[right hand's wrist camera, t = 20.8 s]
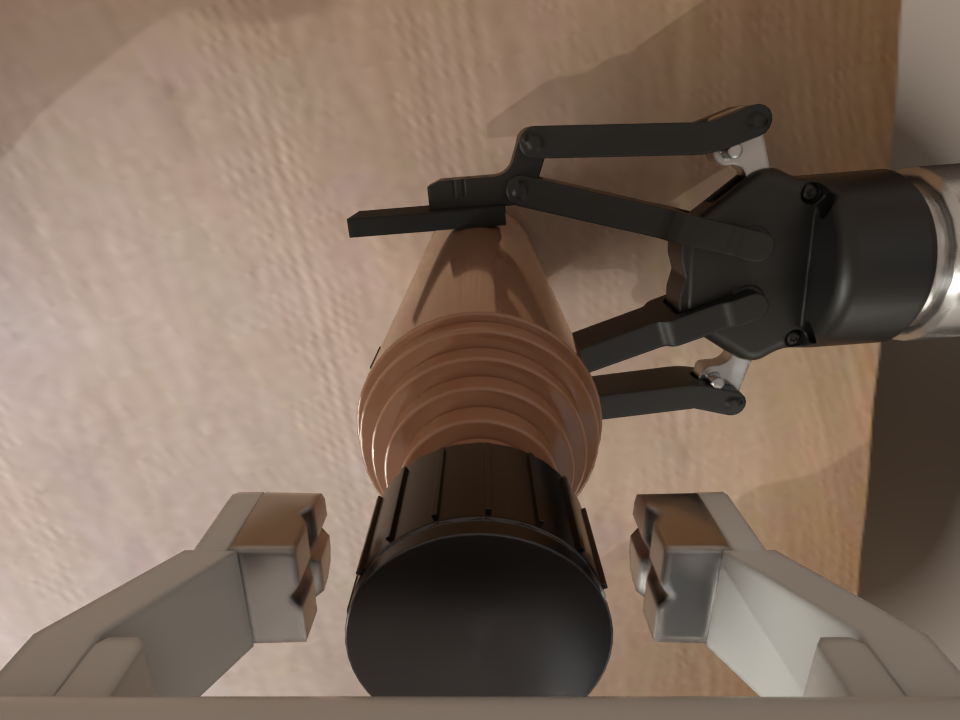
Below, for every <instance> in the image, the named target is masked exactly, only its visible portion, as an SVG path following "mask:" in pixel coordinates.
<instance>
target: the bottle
mask: <svg viewBox="0 0 960 720" xmlns="http://www.w3.org/2000/svg"><path fill="white" fill-rule="evenodd" d="M601 431H602V409H601V404H600V398H599V395H598V392H597V389H596V386H595V383H594V380H593V378H592V376H591V374H590V372H589V369H588V367H587V365H586V363H585V361H584V358H583V356H582V354H581V352H580V350H579V347H578V345H577V343H576V341H575V339H574V337H573V334H572V332H571V330H570V328H569V326H568V323H567V321H566V319H565V317H564V315H563V312H562V310H561V308H560V306H559V304H558V301H557V299H556V297H555V295H554V293H553V290H552V288H551V286H550V284H549V282H548V279H547V277H546V275H545V273H544V271H543V269H542V266H541V264H540V262H539V260H538V258H537V255H536V253H535V251H534V249H533V247H532V244H531V242H530V240H529V238H528V236H527V234H526V232H525V231H524V229H523V228H522V226H521V225H520V224H519V223H518V222H517V221H516V220H515V219H514V218H513V217H511V216H510V215H508V214H507V213H506V225H502V226H489V227H477V228H464V229H452V230H439V231H435V232H434V234H433V236H432V238H431V240H430V242H429V244H428V246H427V249H426V251H425V253H424V255H423V257H422V259H421V261H420V264H419V266H418V268H417V270H416V272H415V274H414V277H413V279H412V281H411V283H410V285H409V287H408V290H407V292H406V294H405V296H404V298H403V300H402V303H401V305H400V307H399V309H398V311H397V313H396V316H395V318H394V320H393V322H392V324H391V326H390V329H389V331H388V333H387V335H386V337H385V339H384V342H383V344H382V346H381V348H380V350H379V352H378V355H377V357H376V359H375V361H374V363H373V365H372V368H371V370H370V372H369V374H368V376H367V379H366V381H365V383H364V386H363V388H362V391H361V395H360V399H359V403H358V412H357V432H358V438H359V443H360V448H361V453H362V458H363V461H364V464H365V467H366V470H367V473H368V475H369V477H370V479H371V481H372V482H373V484H374V486H375V488H376V489H377V491H378V492H379V493H380V495H381V496H382V495H383V493H384V491H385V490H386V489H387V487H388V486H389V484H390V483H391V482H392V481H393V479H394V478H395V477H396V476H397V475H398V474H399V473H400V472H401V469H402V468H403V467H404V466H406V467H408V466H409V465H410V464H411V463H413V462H414V461H415V460H418V459H419V458H420V457H423V456H425V455H427V454H429V453H432V452H434V451H436V450H439V449H440V448H442V447H447V446H448V447H449V446H450V445H459V444H466V443H477V442H482V443H483V442H490V443H492V444H499V445H504V446H510V447H515V448H516V449H517V448H518V449H521V450H523V451H525V452H527V453H529V452H530V453H533V454H534V456H535V457H537V458H539V459H541V460H543V461H545V462H546V463H548V464H549V465H550V466H551V467H552V468H553V469H555V470H556V471H557V472H558V473H559V474H560V475H561V476H562V477H563V476H566V477H567V479H568V483H569V485H570V487H571V488H572V489H573V491H574V492H575V494H576V496H578V495H579V494H580V492H581V491H582V489H583V488H584V486H585V484H586V483H587V481H588V479H589V477H590V475H591V472H592V470H593V468H594V465H595V461H596V458H597V454H598V447H599V443H600V440H601Z"/></svg>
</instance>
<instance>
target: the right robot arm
mask: <svg viewBox="0 0 960 720" xmlns="http://www.w3.org/2000/svg"><path fill="white" fill-rule="evenodd" d="M326 516H327V511H326V504H325V498H324V497H323V495H322V494H318V493H269V492H267V493H263V492H238V493H236V494H233V495H232V496H231V497H230V499H229V500H228V501H227V503H226V504H225V506H224V507H223V509H222V510H221V512H220V513H219V514H218V516H217V517H216V519H215V520H214V522H213V523H212V525H211V526H210V527H209V529H208V530H207V532H206V533H205V535H204V536H203V538H202V539H201V540H200V542H199V543H198V545H197V546H196V548H195V549H194V550H187V551H183V552H181V553H179V554H177V555H176V556H174V557H172V558H170V559H168V560H167V561H165V562H163V563H161V564H159V565H158V566H156V567H154V568H152V569H150V570H149V571H147V572H145V573H143V574H141V575H140V576H138V577H136V578H134V579H132V580H131V581H129V582H127V583H125V584H123V585H122V586H120V587H118V588H116V589H114V590H113V591H111V592H109V593H107V594H105V595H104V596H102V597H100V598H98V599H96V600H95V601H93V602H91V603H89V604H87V605H86V606H84V607H82V608H80V609H78V610H77V611H75V612H73V613H71V614H69V615H68V616H66V617H64V618H62V619H60V620H59V621H57V622H55V623H53V624H51V625H50V626H48V627H46V628H44V629H42V630H41V631H39V632H37V633H35V634H33V635H32V637H31V638H30V639H29V640H28V641H27V642H26V643H25V644H24V645H23V647H22V648H21V649H20V650H19V651H18V652H17V653H16V654H15V655H14V657H13V658H12V659H11V660H10V661H9V662H8V663H7V664H6V666H5V667H4V668H3V669H2V670H1V671H0V720H960V671H959V670H958V669H957V668H956V667H955V665H954V664H953V663H952V662H951V661H950V660H949V659H948V658H947V656H946V655H945V654H944V653H943V652H942V651H941V650H940V649H939V647H938V646H937V645H936V644H935V643H934V642H933V641H932V640H931V638H930V637H929V636H928V635H926V634H924V633H923V632H921V631H919V630H917V629H915V628H914V627H912V626H910V625H908V624H906V623H905V622H903V621H901V620H899V619H897V618H896V617H894V616H892V615H890V614H888V613H887V612H885V611H883V610H881V609H879V608H878V607H876V606H874V605H872V604H870V603H869V602H867V601H865V600H863V599H861V598H860V597H858V596H856V595H854V594H853V593H851V592H849V591H847V590H845V589H844V588H842V587H840V586H838V585H836V584H835V583H833V582H831V581H829V580H827V579H826V578H824V577H822V576H820V575H818V574H817V573H815V572H813V571H811V570H809V569H808V568H806V567H804V566H802V565H800V564H799V563H797V562H795V561H793V560H791V559H790V558H788V557H786V556H784V555H782V554H781V553H779V552H777V551H774V550H766V549H765V548H764V546H763V545H762V544H761V542H760V541H759V539H758V538H757V536H756V535H755V534H754V532H753V531H752V529H751V528H750V526H749V525H748V524H747V522H746V521H745V519H744V518H743V516H742V515H741V513H740V512H739V511H738V509H737V508H736V506H735V505H734V503H733V502H732V501H731V499H730V498H729V496H728V495H727V494H725V493H723V492H705V493H684V494H637V496H636V499H635V502H634V510H633V516H634V518H635V521H636V524H637V526H638V528H637V529H636V530H635V531H634V533H633V534H632V535H631V537H630V549H629V555H630V569H631V574H632V579H633V582H634V585H635V589H636V591H637V592H639V593H640V594H641V595H643V596H644V605H643V612H644V615H645V618H646V621H647V623H648V626H649V629H650V632H651V635H652V638H653V641H654V642H683V643H707V645H706V646H707V647H708V648H709V649H710V650H712V651H713V652H714V653H715V654H716V655H717V656H718V657H719V658H720V659H721V660H722V661H723V662H724V663H725V664H726V665H727V666H728V667H730V668H731V669H732V670H733V671H734V672H735V673H736V674H737V675H738V676H739V677H740V678H741V679H742V680H743V681H744V682H745V683H746V684H748V685H749V686H750V687H751V688H752V689H753V690H754V691H755V692H756V693H757V694H758V695H759V696H760V697H407V696H370V697H200V696H201V695H202V694H203V693H204V692H205V691H206V690H207V689H208V688H209V687H211V686H212V685H213V684H214V683H215V682H216V681H217V680H218V679H219V678H220V677H221V676H222V675H223V674H224V673H225V672H226V671H228V670H229V669H230V668H231V667H232V666H233V665H234V664H235V663H236V662H237V661H238V660H239V659H240V658H241V657H242V656H243V655H244V654H246V653H247V652H248V651H249V650H250V649H251V648H252V647H253V643H276V642H306V641H307V638H308V635H309V632H310V629H311V626H312V623H313V621H314V618H315V615H316V612H317V605H316V596H317V595H319V594H320V593H321V592H322V591H324V588H325V585H326V582H327V579H328V574H329V567H330V550H331V547H330V537H329V535H328V534H327V533H326V532H325V530H324V529H323V528H322V526H323V523H324V521H325V518H326Z"/></svg>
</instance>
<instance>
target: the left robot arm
mask: <svg viewBox="0 0 960 720" xmlns="http://www.w3.org/2000/svg"><path fill="white" fill-rule="evenodd" d="M771 122H772V114H771V111H770V109H769V108H768V107H766V106H765V105H761V104H755V105H745V106H736V107H730V108H727V109H724V110H722V111H719V112H717V113H714V114H712V115H709V116H707V117H704V118H702V119H699V120H697V121H694V122H692V123H648V124H605V125H561V126H531V127H527V128H524V129H523V130H521V131H520V132H519V134H518V136H517V140H516V144H515V148H514V151H513V155H512V159H511V161H510V164H509V165H508V167H507V168H506V169H505V170H504V171H502V172H500V173H498V174H491V175H479V176H467V177H455V178H443V179H439V180H437V181H436V182H434V183H432V184H430V185H429V186H428V187H427V188H428V197H429V206H417V207H404V208H392V209H380V210H367V211H359V212H357V213H356V214H354V215H353V216H351V217H350V218H348V219H347V223H348V229H349V236H350V238H352V237H364V236H377V235H389V234H402V233H414V232H427V231H439V230H452V229H464V228H477V227H489V226H502V225H506V213H505V206H508V205H517V206H521V207H525V208H530V209H534V210H538V211H543V212H547V213H551V214H556V215H560V216H565V217H569V218H573V219H578V220H582V221H586V222H591V223H595V224H599V225H604V226H608V227H613V228H617V229H621V230H626V231H630V232H634V233H639V234H643V235H648V236H652V237H656V238H660V239H663V240H666V241H668V254H669V258H670V262H671V267H672V269H671V272H670V276H669V279H668V282H667V289H666V295H664V296H661V297H658V298H656V299H653V300H651V301H649V302H647V303H646V304H645V305H644V306H643V307H641V308H639V309H636V310H633V311H631V312H628V313H625V314H622V315H620V316H617V317H614V318H612V319H609V320H606V321H603V322H601V323H598V324H595V325H592V326H590V327H587V328H584V329H582V330H579V331H576V332H573V333H572V334H573V337H574V339H575V341H576V343H577V345H578V347H579V350H580V352H581V354H582V356H583V358H584V361H585V363H586V365H587V367H588V369H589V372H592V371H595V370H598V369H601V368H604V367H606V366H609V365H612V364H615V363H618V362H620V361H623V360H626V359H629V358H632V357H634V356H637V355H640V354H643V353H646V352H648V351H651V350H654V349H657V348H660V347H663V346H672V347H673V346H679V345H682V344H685V343H688V342H691V341H693V340H696V339H699V338H702V337H705V338H706V339H708V340H710V341H711V342H713V343H714V344H716V345H717V346H719V347H721V348H722V349H724V350H723V352H722V353H721V354H720V355H719V356H718V357H716V358H713V359H704V360H698V361H697V362H696V363H695V367H687V366H672V367H662V368H654V369H646V370H638V371H630V372H622V373H614V374H606V375H598V376H592V378H593V380H594V383H595V386H596V389H597V392H598V395H599V398H600V404H601V409H602V419H610V418H618V417H627V416H635V415H643V414H651V413H659V412H668V411H676V410H684V409H692V408H696V409H701V410H706V411H711V412H716V413H721V414H726V415H735V414H738V413H739V412H741V411H742V410H743V409H744V407H745V404H746V400H745V397H744V396H743V395H742V394H741V393H740V392H739V389H740V387H741V384H742V382H743V379H744V377H745V374H746V372H747V369H748V367H749V364H750V362H751V360H757V359H760V358H762V357H764V356H766V355H768V354H769V353H771V352H773V351H776V350H778V349H782V348H786V347H820V346H834V345H847V344H861V343H875V342H883V341H887V340H890V339H896V340H902V341H907V340H919V339H931V338H943V337H955V336H960V163H959V164H946V165H932V166H919V167H907V168H901V169H899V170H896V171H892V170H887V169H876V170H864V171H851V172H839V173H827V174H815V175H803V176H791V175H788V174H786V173H784V172H783V171H781V170H778V169H775V168H770V166H769V161H768V156H767V151H766V146H765V141H764V136H763V134H764V133H766V131H767V130H768V129H769V128H770V125H771ZM700 154H706V157H707V159H708V160H709V161H710V162H711V163H712V164H716V165H722V166H729V165H731V166H732V167H734V169H735V170H736V172H737V175H736V176H735V177H733V178H732V179H731V180H730V181H728V182H727V183H726V184H724V185H723V186H722V187H721V188H719V189H718V190H717V191H716V192H714V193H713V194H712V195H711V196H709V197H708V198H707V199H705V200H704V201H703V202H702V203H700V204H699V205H698V206H697V207H695V208H694V209H693V210H691V211H687V210H683V209H679V208H674V207H670V206H666V205H662V204H657V203H651V202H647V201H642V200H638V199H634V198H629V197H625V196H621V195H617V194H612V193H608V192H604V191H599V190H595V189H591V188H587V187H582V186H578V185H574V184H569V183H565V182H561V181H557V180H552V179H548V178H544V177H539V175H540V171H541V168H542V165H543V161H544V158H580V157H625V156H669V155H700ZM380 348H381V347H379V349H378V351H377V354H376V356H375V358H374V360H373V362H372V364H371V366H370V369H371V368H372V365H373V363H374V361H375V359H376V357H377V355H378V352H379V350H380Z"/></svg>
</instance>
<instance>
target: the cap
mask: <svg viewBox="0 0 960 720" xmlns="http://www.w3.org/2000/svg"><path fill="white" fill-rule="evenodd" d="M356 574H357V576H356V580H355V583H354V587H353V590H352V594H351V597H350V601H349V605H348V608H347V619H346V626H345V644H346V649H347V654H348V658H349V661H350V663H351V666H352V669H353V671H354V673H355V675H356V676H357V678H358V680H359V682H360V683H361V684H362V686H363V687H364V688H365V690H366V691H367V692H368V693H369V694H370V695H371V696H407V697H586V696H587V695H588V694H590V692H591V691H592V690H593V688H594V687H595V686H596V685H597V683H598V682H599V680H600V678H601V677H602V675H603V673H604V671H605V669H606V666H607V664H608V661H609V658H610V654H611V649H612V644H613V626H612V620H611V614H610V611H609V607H608V603H607V600H606V596H605V592H604V589H606V588H608V587H607V583H606V580H605V576H604V573H603V569H602V565H601V562H600V558H599V555H598V551H597V548H596V544H595V540H594V537H593V533H592V530H591V526H590V523H589V519H588V515H587V512H586V509H585V508H583V509H582V508H581V505H580V502H579V500H578V498H577V496H576V494H575V492H574V491H573V489H572V488H571V487H570V485H569V483H568V479H567V477H566V476H563V477H562V476H561V475H560V474H559V473H558V472H557V471H556V470H555V469H553V468H552V467H551V466H550V465H549V464H548V463H546V462H545V461H543V460H541V459H539V458H537V457H535V456H534V454H533V453H530V452H529V453H527V452H525V451H523V450H521V449H518V448H517V449H516V448H515V447H510V446H504V445H499V444H492V443H490V442H483V443H482V442H477V443H466V444H459V445H450V446H449V447H448V446H447V447H442V448H440V449H439V450H436V451H434V452H432V453H429V454H427V455H425V456H423V457H420V458H419V459H418V460H415V461H414V462H413V463H411V464H410V465H409V466H408V467H406V466H404V467H403V468H402V469H401V472H400V473H399V474H398V475H397V476H396V477H395V478H394V479H393V481H392V482H391V483H390V484H389V486H388V487H387V489H386V490H385V491H384V493H383V495H382V497H381V496H378V498H377V500H376V504H375V508H374V511H373V515H372V518H371V522H370V525H369V529H368V532H367V536H366V540H365V543H364V547H363V550H362V554H361V557H360V561H359V564H358V568H357V571H356Z"/></svg>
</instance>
